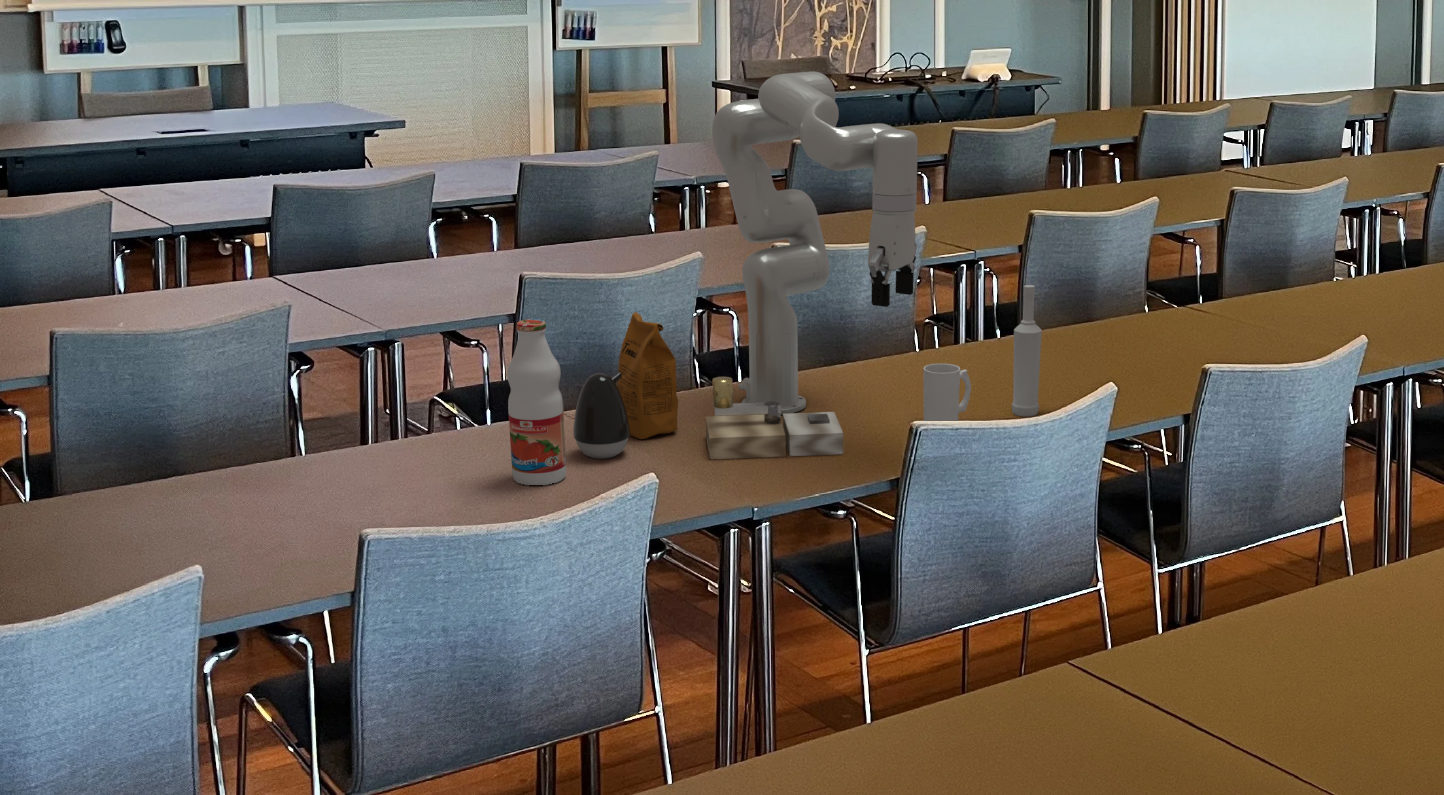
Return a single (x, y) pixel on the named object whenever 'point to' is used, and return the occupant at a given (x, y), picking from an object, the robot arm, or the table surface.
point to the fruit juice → (535, 409)
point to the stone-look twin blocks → (773, 436)
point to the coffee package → (648, 380)
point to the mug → (944, 392)
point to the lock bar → (727, 407)
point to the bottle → (1026, 359)
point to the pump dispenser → (601, 418)
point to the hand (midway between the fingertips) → (892, 299)
